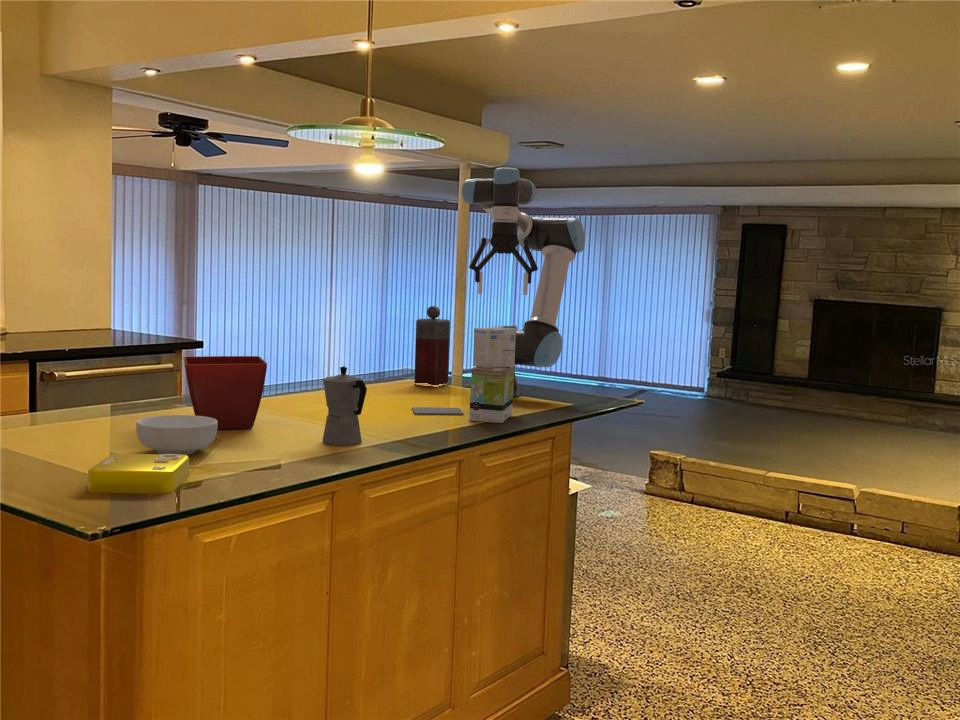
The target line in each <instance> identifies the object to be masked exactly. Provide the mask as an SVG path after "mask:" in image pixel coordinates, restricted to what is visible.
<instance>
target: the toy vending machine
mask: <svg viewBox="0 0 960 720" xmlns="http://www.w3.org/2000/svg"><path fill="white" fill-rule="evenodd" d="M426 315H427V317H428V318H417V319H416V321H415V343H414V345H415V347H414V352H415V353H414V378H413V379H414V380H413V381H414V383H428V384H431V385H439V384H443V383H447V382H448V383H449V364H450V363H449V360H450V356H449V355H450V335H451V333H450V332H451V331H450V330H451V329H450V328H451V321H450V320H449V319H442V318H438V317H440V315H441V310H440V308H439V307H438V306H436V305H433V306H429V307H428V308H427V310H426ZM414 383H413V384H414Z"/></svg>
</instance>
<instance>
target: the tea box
mask: <svg viewBox="0 0 960 720" xmlns="http://www.w3.org/2000/svg"><path fill="white" fill-rule="evenodd" d="M513 386H514V366H508V367H495V368H484V367H477V366H474V367H472V368H471V377H470V393H469V394H470V396H469V413H468V421H472V422H479V423H480V422H481V423H484V422H485V423H495V424H497V423H498V424H502V423H504V422H506V420H507V419H509V417H511V416H512V415H513V402H514V400H513V399H514V397H513Z"/></svg>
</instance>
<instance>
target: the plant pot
mask: <svg viewBox="0 0 960 720" xmlns="http://www.w3.org/2000/svg"><path fill="white" fill-rule="evenodd" d="M183 363H184V369H185V376H186V381H187V387H188V391H189V392H188V393H189V397H190V401H191V405H192V409H193V412H194V413H193V414H194V416H204V417H210V418H214V419H216V420H217V422H218V423H217V424H218V425H217V430H233V429H234V430H235V429H238V430H239V429H253V427H254V424H255V422H256V419H257V416H258V411H259V410H260V409H259V408H260V404H261V401H262V396H263V392H264V389H265V388H264V387H265V382H266V377H267V376H266V375H267V369H268V362H266V361H265V360H264V359H263V358H262V357H261V356H259V355H257V356H255V355H253V356H252V355H244V356H243V355H233V356H232V355H225V356H224V355H223V356H222V355H220V356H219V355H218V356H217V355H215V356H210V355H209V356H207V355H206V356H184V357H183Z"/></svg>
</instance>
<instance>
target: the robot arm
mask: <svg viewBox="0 0 960 720" xmlns="http://www.w3.org/2000/svg"><path fill="white" fill-rule="evenodd" d="M536 195H537V189H536V185H535V184H534V183H533V182H532V181H530V180H529V179H527V178H521V176H520V170H519V169H518V168H515V167H497V168H495V170H494V172H493V178H476V177H475V178H469V179H466V180H464V182H463V183H462V187H461V196H462V200H463V201H464V202H465V203H466V204H470V205H471V204H472V205H474V204H476V205H478V206H479V207H480V208H482V209H483V210H484V211H485V212H486V213H487V214H488V215H489V216H491V218H492V221H493V222H492V224H491V238H486V237H481V239H480V243H479V246H478V249H476V252H475V254H474V256H473V258H472V260H471V261H470V264H469V266H468V268H469V269H471V270H472V271H474V282H475V283H478V284H477V287H478V288H477V294H479V295H483V275H484V274H483V273H484V271H482V269H483V267H485V266H486V264H487V263H488V262H489V261H490V260H491V259H492V257H493V256H494V255H495V254H496V253H497V254H501V255H502V254H505V255H510V254H512V255H513V256H514V257H515V259H516V260H517V261H518V263H519V264H520V266H522V268H523V269H524V271H526V272H523V278H522V279H523V286H522V295H523V296H528V290H529V288H528V287H529V286H528V285H530V284H531V283H532V273H533V272H536V271H537V272H538V270H539V268H538V265H537V263H536V261H535V259H534V256H533V253H532V252H531V251H535V252H541V254H542V256H543V257H544V258H543V263H542V267H541V271H540V277H539V280H538V284H537V288H536V291H535V292H536V294H535V297H534V302H533V305H532V310H531V314H530V318H529V319H528V320H526V321H525V322H523V323H524V324H523V328H522V329H518V327H517V325H516V324H511V325H509V324H508V325H497V326H486V327H485V328H498V327H503V328H514V329H516V337H515V363H514V386H513V398H514V397H519V396H520V386H519V383H518V380H517V375H516V372H515V371H516V365H517V366H527V367H536V368H550V367H553V366H554V365H555V364H556V363H557V362H558V360H559V358H560V355H562V354H561V352H562V349H563V336H562V334H561V333H560V332H559V331H560V329H559V328H558V326H557V325H556V324H557V320H558V315H559V310H560V307H561V302H562V297H563V293H564V288H565V283H566V279H567V276H568V271H569V266H570V263H571V262H573V261H574V260H576V259H575V258H576V255H577V253H578V254H579V253H582V252H583V251H584V248H585V244H586V243H585V240H586V239H585V238H586V237H585V231H584V227H583V224H582V222H581V220H580V219H579V218H576V217H569V216H566V217H552V216H551V217H547V216H546V217H543V216H541V217H540V216H539V217H536V216H529V215H528V214H527V213H525V212H521V211H520V210H519V205H523V206H524V205H528V204H531V203H532V202H533V201H534V200H535V198H536ZM489 244H490V245H491V246H492V248H491V249H490V250H489V252H488V253H487V254H486V255H485V256H484V258H483V259H482V260H481V261H480V262H479V259H480V258H481V256H482V253H483V252H484V250H485V248H486V246H488V245H489ZM518 245H520V247H522V250H523V252H524V254H525V256H526V259H527V261H528V262H529V263H527V262H526V260H525V259H524V257H523V256H522V255H521V254H520V252H519V251H518V249H517V247H518ZM478 262H479V263H478ZM476 265H477V266H476ZM529 265H530V266H529Z"/></svg>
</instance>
